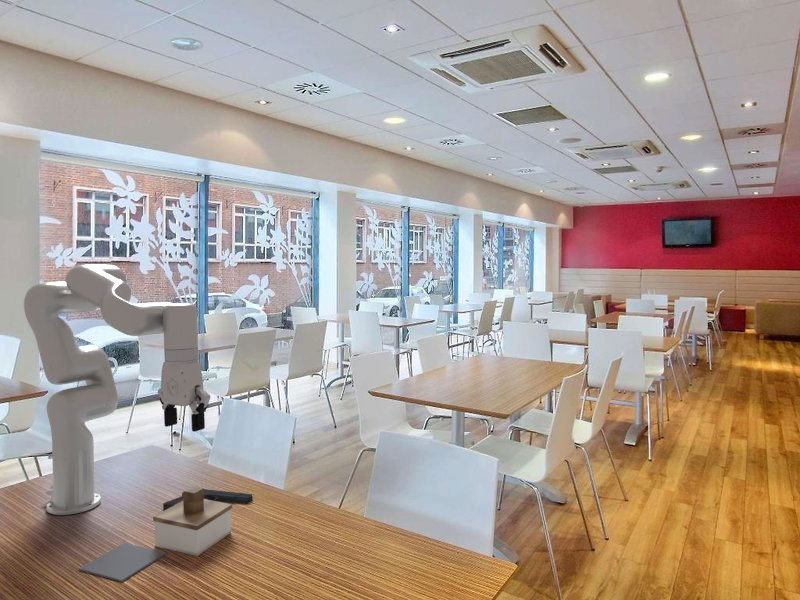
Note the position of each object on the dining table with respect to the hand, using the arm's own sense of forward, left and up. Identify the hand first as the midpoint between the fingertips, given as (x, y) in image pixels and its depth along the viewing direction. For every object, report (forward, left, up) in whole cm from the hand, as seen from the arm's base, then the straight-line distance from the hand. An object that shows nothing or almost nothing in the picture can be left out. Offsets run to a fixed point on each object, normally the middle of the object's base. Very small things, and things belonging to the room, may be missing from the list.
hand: (184, 427), depth 134 cm
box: (+3, -1, -26) cm, 26 cm away
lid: (+3, -1, -20) cm, 21 cm away
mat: (-4, -15, -26) cm, 30 cm away
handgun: (-7, +17, -27) cm, 32 cm away
